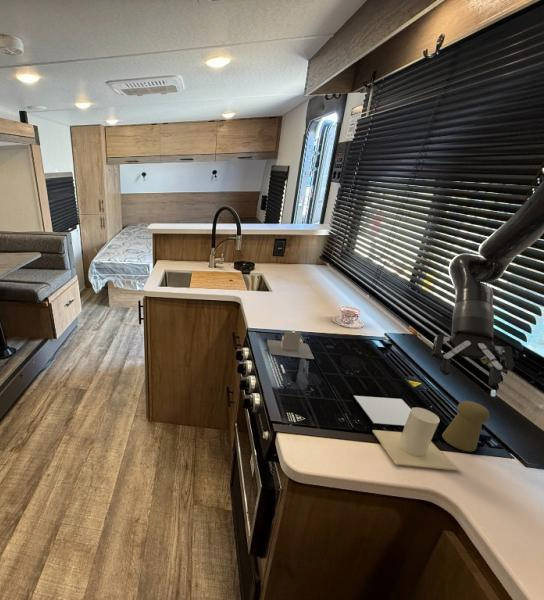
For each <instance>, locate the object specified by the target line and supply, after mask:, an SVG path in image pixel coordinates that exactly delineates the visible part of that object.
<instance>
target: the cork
mask: <svg viewBox="0 0 544 600" xmlns="http://www.w3.org/2000/svg"><path fill="white" fill-rule="evenodd" d="M456 410H457V414H456V415H455V417H454V418H453V419H452V421H451V422H450V423H449V425H448V426H447V427H446V428H445V430H444V431H443V433H442V434H441V437H442V439H443V440H444V441H445V442H446V443H447V444H448V445H450V446H451V447H453V448H456V449H458V450H461V451H463V452H470V453H471V452H475V451H476V450H477V447H478V442H479V439H480V436H481V435H480V434H481V431H482V427H483V423H486V422H487V421H489V418H490V416H491V414H490V411H489V410H488V408H486V407H485V406H483V405H482V404H480V403H478V402H475V401H471V400H463V401H461V402H459V403H458V405H457V407H456Z"/></svg>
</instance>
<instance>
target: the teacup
mask: <svg viewBox="0 0 544 600" xmlns="http://www.w3.org/2000/svg"><path fill="white" fill-rule="evenodd" d="M339 311H340V314H341V315H334V316H332V318H331V320H332V322H334V323H335V324H337V325H339V326H342V327H344V328H345V327H346V328H351V329H360V328H363V327H364V326H365V323H364V322H363V321H362V320H361V319H359V315H360V314H362V310H361V309H359V308H357V307H354V306H350V305H341V306H340V307H339ZM343 320H344V321H343ZM345 321H347V322H345ZM354 321H355V322H354Z"/></svg>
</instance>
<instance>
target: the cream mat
mask: <svg viewBox="0 0 544 600" xmlns="http://www.w3.org/2000/svg"><path fill="white" fill-rule="evenodd" d="M372 433H373V434H374V436H375V437H376V439H377V440H378V441H379V443H380V444H381V445H382V447H383V449H384V450H385V452H386V453H387V454H388V455H389V457H390V458H391V459H392V461H393V463H394V464H395V465H396V466H403V467H414V468H426V469H434V470H435V469H436V470H445V471H446V470H447V471H457V468H456V467H455V466H454V465H453V464H452V462H451V461H450V460H449V459H448V458H447V457H446V456H445V455H444V453H442V452H441V450H440V449H439V448H438V447H437V446H436V445H435V443H433V441H431V442H430V445H429V447H428V449H427V451H426V454H425V455H424V456H422V457H417V456H413V455H411V454H409V453H407V452H405V451H404V450H403V449H402V448H401V447H400V446H399V444H398V442H399V439H400V437H401V434H402V431H392V430H391V431H390V430H378V429H372Z"/></svg>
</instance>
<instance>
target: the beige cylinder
mask: <svg viewBox="0 0 544 600" xmlns="http://www.w3.org/2000/svg"><path fill="white" fill-rule="evenodd" d="M440 421H441V420H440V418H439V416H438V415H437V414H435V413H434V412H432V411H430V410H428V409H425V408H423V407H411V411H410V413H409V416H408V418H407V421H406V424H405V426H404V427H403V429H402V431H401V432H402V434H401V437H400V439H399V442H398V444H399V446H400V447H401V448H402V449H403V450H404V451H405V452H407V453H409V454H411V455H413V456H417V457H422V456H424V455H425V454H426V451H427V449H428V447H429V445H430V442H432V440H433V438H434V435H435V433H436V431H437V430H438V429H437V428H438V427H439V424H440Z"/></svg>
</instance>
